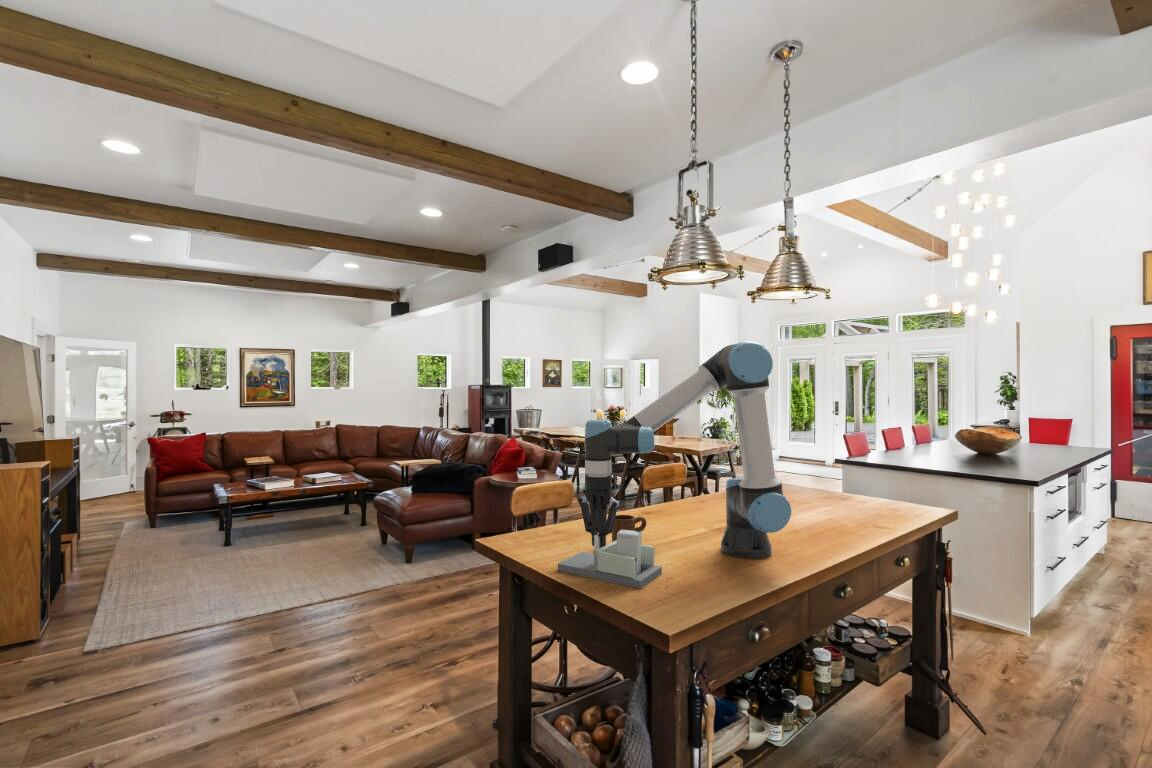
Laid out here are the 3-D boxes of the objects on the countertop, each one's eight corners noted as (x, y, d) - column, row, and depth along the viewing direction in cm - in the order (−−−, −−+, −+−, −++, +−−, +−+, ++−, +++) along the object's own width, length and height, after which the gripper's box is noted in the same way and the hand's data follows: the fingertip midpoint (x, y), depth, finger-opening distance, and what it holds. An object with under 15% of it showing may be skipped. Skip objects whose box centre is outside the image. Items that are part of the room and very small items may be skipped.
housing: (654, 564, 152) (654, 546, 152) (633, 578, 141) (633, 558, 141) (616, 557, 158) (616, 540, 158) (594, 569, 147) (593, 551, 148)
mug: (641, 540, 183) (641, 512, 183) (651, 546, 176) (651, 517, 176) (608, 544, 180) (608, 515, 180) (617, 550, 172) (617, 520, 172)
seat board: (661, 573, 151) (661, 566, 151) (640, 588, 140) (640, 580, 140) (582, 558, 165) (582, 551, 165) (557, 570, 154) (557, 563, 154)
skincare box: (615, 577, 148) (615, 533, 148) (620, 572, 152) (620, 529, 152) (637, 580, 146) (637, 535, 146) (642, 575, 150) (641, 531, 150)
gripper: (625, 474, 154) (625, 558, 154) (585, 471, 161) (586, 551, 161) (612, 478, 147) (612, 565, 147) (571, 474, 155) (572, 557, 154)
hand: (598, 558), depth 154 cm, fingers closed
